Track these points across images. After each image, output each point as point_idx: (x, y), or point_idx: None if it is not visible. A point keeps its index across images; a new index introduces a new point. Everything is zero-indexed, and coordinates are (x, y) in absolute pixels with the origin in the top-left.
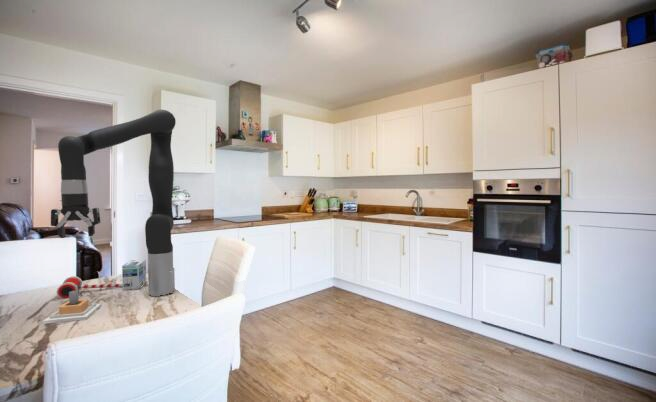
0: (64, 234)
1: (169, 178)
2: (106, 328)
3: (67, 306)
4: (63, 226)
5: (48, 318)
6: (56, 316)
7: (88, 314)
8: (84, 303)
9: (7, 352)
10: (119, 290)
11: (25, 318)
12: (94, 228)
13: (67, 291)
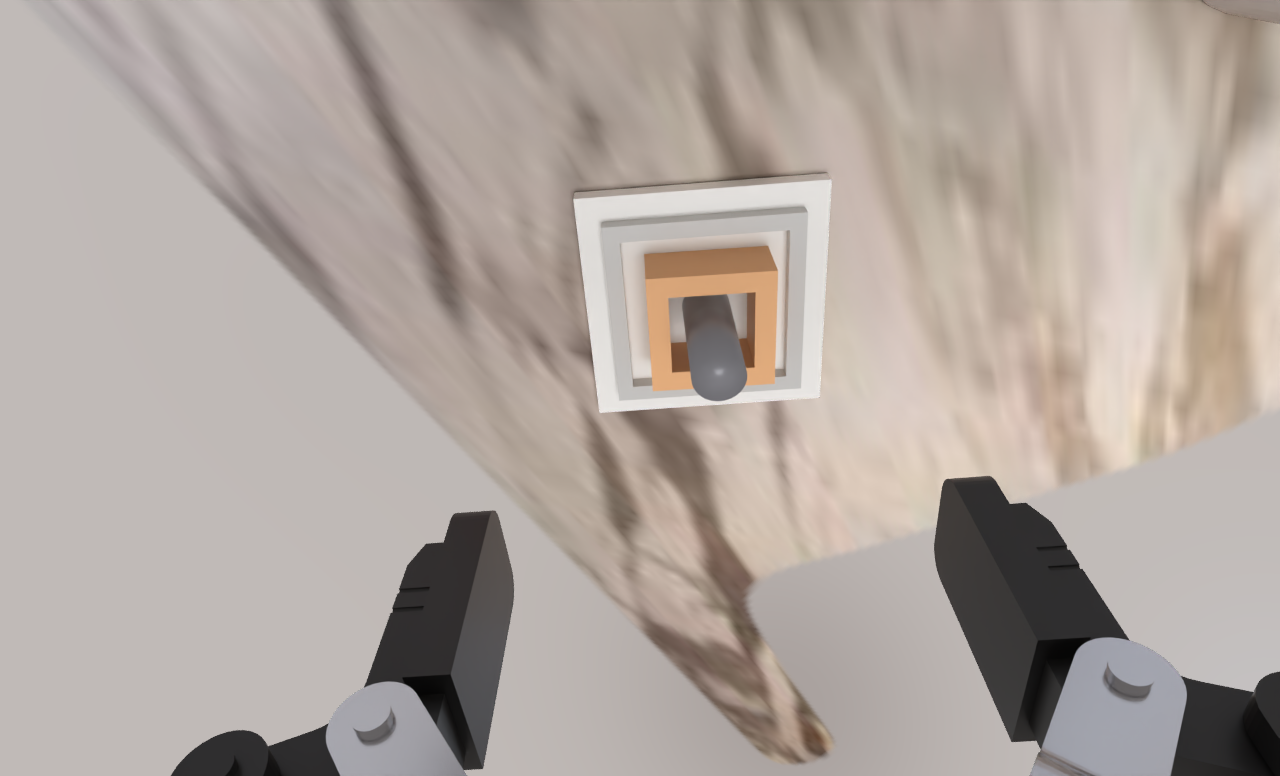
0: (490, 570)
1: None
2: None
3: None
4: (443, 725)
5: (608, 385)
6: (654, 395)
7: (818, 370)
8: (775, 324)
9: (642, 626)
10: None
11: (429, 302)
12: (1100, 601)
13: None
